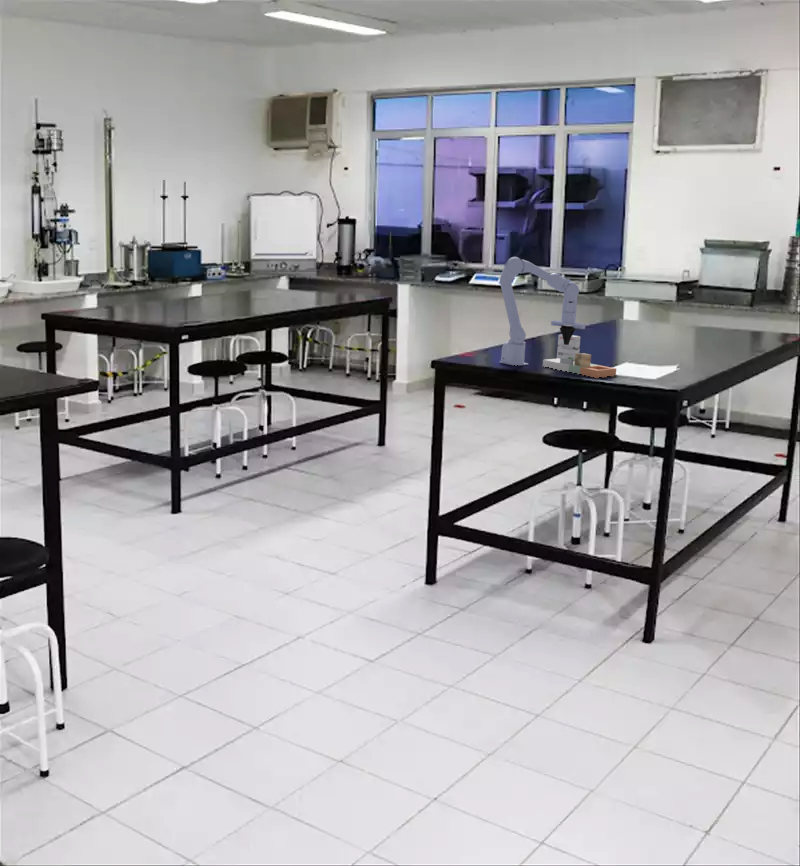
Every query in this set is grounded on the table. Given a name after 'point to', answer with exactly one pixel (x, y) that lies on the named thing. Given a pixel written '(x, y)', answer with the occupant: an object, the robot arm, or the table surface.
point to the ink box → (568, 347)
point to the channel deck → (579, 367)
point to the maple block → (582, 359)
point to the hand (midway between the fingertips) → (566, 344)
